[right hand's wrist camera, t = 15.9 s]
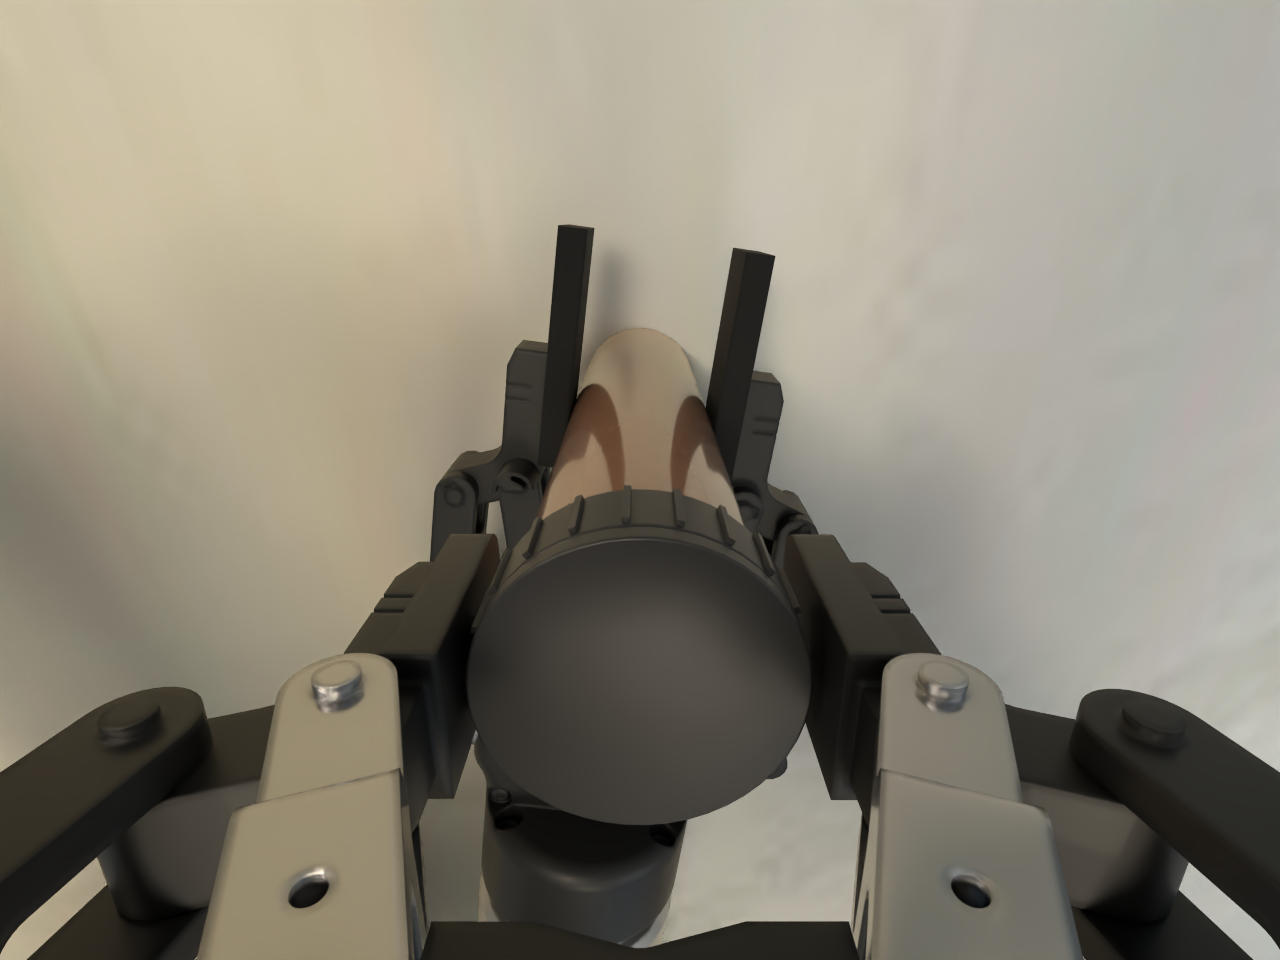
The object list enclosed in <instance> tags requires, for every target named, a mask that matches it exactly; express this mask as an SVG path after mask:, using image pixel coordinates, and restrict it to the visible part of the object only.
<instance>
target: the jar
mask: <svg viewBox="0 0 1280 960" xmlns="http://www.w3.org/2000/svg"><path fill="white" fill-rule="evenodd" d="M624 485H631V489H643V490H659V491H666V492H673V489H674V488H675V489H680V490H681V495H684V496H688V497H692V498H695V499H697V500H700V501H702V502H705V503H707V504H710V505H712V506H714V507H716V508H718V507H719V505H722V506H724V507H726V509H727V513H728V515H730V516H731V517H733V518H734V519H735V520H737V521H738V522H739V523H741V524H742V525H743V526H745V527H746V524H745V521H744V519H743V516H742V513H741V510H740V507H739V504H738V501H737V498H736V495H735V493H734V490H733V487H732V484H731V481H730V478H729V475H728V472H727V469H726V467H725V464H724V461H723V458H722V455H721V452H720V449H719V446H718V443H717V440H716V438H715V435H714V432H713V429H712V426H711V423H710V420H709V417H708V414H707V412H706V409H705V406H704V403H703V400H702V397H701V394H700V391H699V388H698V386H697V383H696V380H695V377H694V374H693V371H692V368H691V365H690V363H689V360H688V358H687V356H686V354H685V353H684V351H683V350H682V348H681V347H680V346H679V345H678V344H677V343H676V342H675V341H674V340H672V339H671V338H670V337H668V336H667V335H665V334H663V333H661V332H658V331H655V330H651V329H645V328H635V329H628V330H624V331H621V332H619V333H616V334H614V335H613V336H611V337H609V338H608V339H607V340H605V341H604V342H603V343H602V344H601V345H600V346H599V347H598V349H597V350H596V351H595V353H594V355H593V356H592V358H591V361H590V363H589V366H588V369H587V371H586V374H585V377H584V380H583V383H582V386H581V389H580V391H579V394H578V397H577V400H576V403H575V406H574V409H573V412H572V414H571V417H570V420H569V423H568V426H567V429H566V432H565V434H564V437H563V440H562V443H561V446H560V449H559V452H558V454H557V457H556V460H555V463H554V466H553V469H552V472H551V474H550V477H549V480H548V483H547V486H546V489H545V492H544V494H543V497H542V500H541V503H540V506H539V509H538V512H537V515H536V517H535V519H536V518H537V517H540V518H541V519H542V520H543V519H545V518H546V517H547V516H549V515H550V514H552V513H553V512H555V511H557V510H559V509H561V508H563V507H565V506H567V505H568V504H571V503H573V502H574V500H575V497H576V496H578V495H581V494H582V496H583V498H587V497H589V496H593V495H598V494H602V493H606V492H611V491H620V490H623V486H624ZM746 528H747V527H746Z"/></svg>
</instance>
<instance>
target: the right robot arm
mask: <svg viewBox="0 0 1280 960" xmlns="http://www.w3.org/2000/svg"><path fill="white" fill-rule="evenodd" d="M499 563H500V556H499V545H498V540H497V537H496V535H495V534H451V535H450V536H449V537H448V539H447V540H446V542H445V544H444V545H443V547H442V549H441V550H440V552H439V554H438V555H437V557H436V559H435V560H434V562H418V563H416V564H415V565H413V566H412V567H410V568H409V569H407V570H406V571H404V572H403V573H401V574H400V575H398V576H397V577H396V578H395V579H394V581H393V582H392V583H391V585H390V586H389V588H388V589H387V591H386V592H385V594H384V598H381V600H380V601H379V603H378V604H377V605H376V607H375V608H374V613H371V614H370V616H369V617H368V619H367V620H366V622H365V623H364V624H363V626H362V627H361V629H360V630H359V632H358V633H357V635H356V636H355V638H354V639H353V641H352V642H351V644H350V645H349V646H348V648H347V649H346V651H345V652H344V654H342V655H337V656H333V657H329V658H326V659H323V660H320V661H318V662H315V663H313V664H311V665H309V666H307V667H305V668H303V669H301V670H300V671H298V672H297V673H295V674H294V675H293V676H292V677H291V678H289V679H288V680H287V681H286V682H285V683H284V685H283V686H282V687H281V689H280V690H279V692H278V695H277V698H276V703H275V705H272V706H268V707H264V708H260V709H255V710H250V711H245V712H240V713H235V714H230V715H225V716H220V717H215V718H210V719H207V716H206V712H205V708H204V705H203V701H202V699H201V697H200V696H199V695H198V694H197V693H196V692H194V691H192V690H189V689H186V688H180V687H161V688H153V689H148V690H143V691H139V692H135V693H132V694H129V695H126V696H123V697H120V698H117V699H115V700H113V701H110V702H108V703H106V704H104V705H102V706H100V707H98V708H96V709H94V710H93V711H91V712H89V713H88V714H86V715H85V716H83V717H82V718H80V719H79V720H77V721H76V722H74V723H73V724H71V725H70V726H68V727H67V728H65V729H64V730H62V731H61V732H59V733H58V734H56V735H55V736H54V737H52V738H51V739H49V740H48V741H46V742H45V743H43V744H42V745H40V746H39V747H37V748H36V749H34V750H33V751H31V752H30V753H28V754H27V755H25V756H24V757H22V758H21V759H19V760H18V761H16V762H15V763H14V764H12V765H11V766H9V767H8V768H6V769H5V770H3V771H2V772H0V954H1V951H2V949H3V948H4V946H5V944H6V943H7V941H8V940H9V938H10V937H11V935H12V934H13V933H14V932H15V931H16V929H17V928H18V927H19V926H20V925H21V924H22V923H23V922H24V921H25V920H26V919H27V918H28V917H29V916H30V915H32V914H33V913H34V912H35V911H36V910H37V909H38V908H40V907H41V906H42V905H43V904H44V903H45V902H46V901H47V900H49V899H50V898H51V897H52V896H53V895H54V894H55V893H57V892H58V891H59V890H60V889H61V888H62V887H63V886H64V885H66V884H67V883H68V882H69V881H70V880H71V879H72V878H74V877H75V876H76V875H77V874H78V873H79V872H80V871H81V870H83V869H84V868H85V867H86V866H87V865H88V864H89V863H91V862H92V861H93V860H94V859H95V858H96V857H97V858H98V861H99V863H100V866H101V869H102V871H103V874H104V877H105V879H106V882H107V885H106V886H105V887H104V888H103V889H102V890H101V891H100V892H99V893H98V894H97V895H95V896H94V897H93V898H92V899H91V900H90V901H89V902H88V903H87V904H86V905H85V906H84V907H83V908H82V909H81V910H79V911H78V912H77V913H76V914H75V915H74V916H73V917H72V918H71V919H70V920H69V921H68V922H67V923H66V924H64V925H63V926H62V927H61V928H60V929H59V930H58V931H57V932H56V933H55V934H54V935H53V936H52V937H51V938H49V939H48V940H47V941H46V942H45V943H44V944H43V945H42V946H41V947H40V948H39V949H38V950H37V951H36V952H35V953H33V954H32V955H31V956H30V957H29V958H28V959H27V960H194V959H195V958H196V957H197V960H1083V957H1084V958H1085V959H1086V960H1253V959H1252V958H1251V957H1250V956H1249V955H1248V954H1247V953H1246V952H1244V951H1243V950H1242V949H1241V948H1240V947H1239V946H1238V945H1237V944H1236V943H1235V942H1234V941H1233V940H1232V939H1231V938H1229V937H1228V936H1227V935H1226V934H1225V933H1224V932H1223V931H1222V930H1221V929H1220V928H1219V927H1218V926H1217V925H1216V924H1214V923H1213V922H1212V921H1211V920H1210V919H1209V918H1208V917H1207V916H1206V915H1205V914H1204V913H1203V912H1202V911H1201V910H1199V909H1198V908H1197V907H1196V906H1195V905H1194V904H1193V903H1192V902H1191V901H1190V900H1189V899H1188V898H1187V897H1186V896H1185V895H1183V894H1182V893H1181V892H1180V891H1179V890H1178V889H1179V887H1180V884H1181V881H1182V879H1183V876H1184V874H1185V871H1186V868H1187V866H1188V863H1191V864H1192V865H1193V866H1194V867H1195V868H1196V869H1197V870H1199V871H1200V872H1201V873H1202V874H1203V875H1204V876H1205V877H1206V878H1208V879H1209V880H1210V881H1211V882H1212V883H1213V884H1214V885H1216V886H1217V887H1218V888H1219V889H1220V890H1221V891H1222V892H1223V893H1225V894H1226V895H1227V896H1228V897H1229V898H1230V899H1231V900H1233V901H1234V902H1235V903H1236V904H1237V905H1238V906H1239V907H1240V908H1242V909H1243V910H1244V911H1245V912H1246V913H1247V914H1248V915H1250V916H1251V917H1252V918H1253V919H1254V920H1255V921H1256V922H1257V923H1258V924H1260V925H1261V926H1262V927H1263V928H1264V929H1265V930H1266V932H1267V933H1268V934H1269V935H1270V936H1271V937H1272V939H1273V940H1274V941H1275V943H1276V944H1277V946H1278V947H1279V949H1280V772H1278V771H1277V770H1275V769H1274V768H1272V767H1271V766H1269V765H1268V764H1266V763H1265V762H1264V761H1262V760H1261V759H1259V758H1258V757H1256V756H1255V755H1253V754H1252V753H1250V752H1249V751H1247V750H1246V749H1244V748H1243V747H1241V746H1240V745H1238V744H1237V743H1235V742H1234V741H1232V740H1231V739H1229V738H1228V737H1227V736H1225V735H1224V734H1222V733H1221V732H1219V731H1218V730H1216V729H1215V728H1213V727H1212V726H1210V725H1209V724H1207V723H1206V722H1204V721H1203V720H1201V719H1200V718H1198V717H1197V716H1195V715H1193V714H1192V713H1190V712H1189V711H1187V710H1185V709H1183V708H1181V707H1179V706H1177V705H1175V704H1173V703H1170V702H1168V701H1166V700H1163V699H1160V698H1157V697H1154V696H1151V695H1148V694H1144V693H1140V692H1135V691H1130V690H1122V689H1102V690H1097V691H1093V692H1091V693H1089V694H1087V695H1085V696H1084V697H1083V698H1082V700H1081V702H1080V705H1079V709H1078V713H1077V716H1076V720H1075V719H1070V718H1065V717H1060V716H1055V715H1050V714H1045V713H1040V712H1035V711H1030V710H1025V709H1021V708H1017V707H1013V706H1010V705H1007V704H1005V703H1004V698H1003V695H1002V692H1001V690H1000V689H999V687H998V686H997V685H996V683H995V682H994V681H993V680H992V679H991V678H989V677H988V676H987V675H986V674H985V673H983V672H982V671H980V670H979V669H977V668H975V667H973V666H971V665H969V664H967V663H965V662H962V661H960V660H957V659H954V658H951V657H947V656H943V655H941V653H940V652H939V650H938V649H937V647H936V646H935V645H934V643H933V642H932V640H931V639H930V637H929V636H928V634H927V633H926V632H925V630H924V629H923V627H922V626H921V624H920V623H919V621H918V620H917V619H916V617H915V616H914V614H911V613H910V608H909V607H908V606H907V604H906V603H905V601H904V600H903V599H900V594H899V593H898V591H897V590H896V588H895V587H894V585H893V584H892V582H891V581H890V580H889V578H888V577H886V576H885V575H883V574H882V573H880V572H879V571H877V570H876V569H874V568H873V567H871V566H870V565H868V564H867V563H851V562H850V561H849V559H848V558H847V556H846V554H845V553H844V551H843V549H842V548H841V546H840V544H839V543H838V541H837V540H836V538H835V537H834V535H788V537H787V539H786V543H785V551H784V563H783V568H784V571H785V573H786V575H787V578H788V580H789V582H790V585H791V587H792V590H793V592H794V595H795V597H796V599H797V602H798V604H799V607H800V609H801V613H799V614H797V615H798V618H799V620H800V623H801V625H802V628H803V630H804V633H805V635H806V638H807V640H808V643H809V645H810V648H811V653H812V655H811V656H810V658H811V663H812V676H813V688H812V696H811V704H810V708H809V711H808V715H807V718H806V725H807V728H808V731H809V734H810V738H811V741H812V744H813V747H814V750H815V753H816V756H817V759H818V762H819V765H820V768H821V771H822V774H823V777H824V780H825V783H826V786H827V789H828V792H829V795H830V798H831V800H858V803H859V805H860V808H861V811H862V817H861V824H860V830H859V837H858V848H857V860H856V872H855V884H854V896H853V908H852V920H851V928H850V924H849V922H743V923H739V924H735V925H731V926H728V927H724V928H720V929H716V930H712V931H709V932H705V933H701V934H697V935H694V936H690V937H686V938H682V939H679V940H675V941H671V942H667V943H663V944H660V945H656V946H652V947H647V948H633V947H628V946H624V945H620V944H617V943H613V942H609V941H605V940H601V939H598V938H594V937H590V936H586V935H583V934H579V933H575V932H571V931H568V930H564V929H560V928H556V927H552V926H549V925H545V924H541V923H537V922H431V924H430V928H429V920H428V908H427V896H426V884H425V872H424V860H423V848H422V837H421V830H420V824H419V820H420V818H421V815H422V813H423V810H424V807H425V804H426V802H427V799H454V796H455V793H456V790H457V787H458V784H459V781H460V778H461V775H462V771H463V768H464V765H465V762H466V759H467V756H468V753H469V750H470V747H471V743H472V740H473V737H474V734H475V731H476V728H475V726H474V723H473V721H472V718H471V714H470V710H469V706H468V702H467V695H466V684H465V678H466V663H467V658H468V654H469V649H470V645H471V642H472V639H473V637H474V634H472V633H470V630H471V626H472V624H473V621H474V619H475V617H476V614H477V612H478V609H479V607H480V605H481V602H482V600H483V597H484V595H485V592H486V590H487V588H488V586H490V585H491V582H492V580H493V577H494V575H495V573H496V570H497V568H498V565H499ZM197 955H198V956H197ZM1082 955H1083V956H1082Z"/></svg>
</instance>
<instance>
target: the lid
mask: <svg viewBox="0 0 1280 960" xmlns="http://www.w3.org/2000/svg"><path fill="white" fill-rule="evenodd" d="M799 613H801V609H800V607H799V604H798V602H797V599H796V597H795V595H794V592H793V590H792V587H791V585H790V582H789V580H788V578H787V575H786V573H785V571H784V568H780V569H777V567H776V565H775V563H774V561H773V560H772V558H771V556H770V554H769V553H768V551H767V548H766V546H765V543H764V540H763V538H762V536H761V535H760V534H759V533H758V532H757V533H756V534H754V535H753V534H752V533H751V532H750V531H749V530H748V529H747V528H746V527H745V526H743V525H742V524H741V523H739V522H738V521H737V520H735V519H734V518H733V517H731V516H730V515H728V513H727V509H726V507H724V506H722V505H719V507H718V508H716V507H714V506H712V505H710V504H707V503H705V502H702V501H700V500H697V499H695V498H692V497H688V496H684V495H681V490H680V489H675V488H674V489H673V492H666V491H659V490H643V489H631V485H624V486H623V490H620V491H611V492H606V493H602V494H598V495H593V496H589V497H587V498H583V496H582V494H581V495H578V496H576V497H575V500H574V502H573V503H571V504H568V505H567V506H565V507H563V508H561V509H559V510H557V511H555V512H553V513H552V514H550V515H549V516H547V517H546V518H545V519H543V520H542V519H541V518H540V517H537V518H536V519H535V520H534V521H533V524H532V527H531V530H530V531H529V532H527V533H526V534H525V535H524V536H523V537H522V538H521V539H520V541H519V542H518V543H517V544H516V546H515V547H514V548H513V549H512V551H511V550H510V549H508V548H507V549H506V550H505V551H504V553H503V555H502V558H501V560H500V563H499V565H498V568H497V570H496V573H495V575H494V577H493V580H492V582H491V585H490V586H488V588H487V590H486V592H485V595H484V597H483V600H482V602H481V605H480V607H479V609H478V612H477V614H476V617H475V619H474V621H473V624H472V626H471V630H470V633H472V634H474V637H473V639H472V642H471V645H470V649H469V654H468V658H467V663H466V678H465V684H466V695H467V702H468V706H469V710H470V714H471V718H472V721H473V723H474V726H475V728H476V731H477V733H478V735H479V738H480V739H481V741H482V743H483V744H484V746H485V748H486V749H487V751H488V753H489V754H490V755H491V757H492V758H493V759H494V760H495V761H496V763H497V764H498V765H499V766H500V768H501V769H502V770H503V771H504V772H505V773H506V774H507V775H508V776H509V777H511V778H512V779H513V780H514V781H515V782H516V783H517V784H519V785H520V786H521V787H523V788H524V789H525V790H527V791H528V792H529V793H531V794H532V795H534V796H536V797H537V798H539V799H541V800H542V801H544V802H546V803H548V804H550V805H552V806H554V807H556V808H559V809H561V810H563V811H565V812H568V813H571V814H574V815H577V816H581V817H584V818H587V819H592V820H597V821H601V822H606V823H615V824H624V825H653V824H664V823H672V822H677V821H682V820H687V819H691V818H694V817H698V816H701V815H704V814H708V813H710V812H712V811H715V810H717V809H720V808H722V807H724V806H727V805H729V804H730V803H732V802H734V801H736V800H738V799H739V798H741V797H743V796H745V795H746V794H747V793H749V792H750V791H752V790H753V789H754V788H756V787H757V786H759V785H760V784H761V783H762V782H763V781H764V780H766V779H767V778H768V777H769V776H770V775H771V774H772V773H773V772H774V771H775V770H776V769H777V768H778V767H779V765H780V764H781V763H782V762H783V761H784V759H785V758H786V757H787V756H788V754H789V753H790V751H791V749H792V748H793V746H794V745H795V743H796V742H797V740H798V738H799V736H800V733H801V731H802V729H803V727H804V724H805V722H806V718H807V715H808V711H809V708H810V704H811V696H812V688H813V676H812V663H811V658H810V656H811V655H812V653H811V648H810V645H809V643H808V640H807V638H806V635H805V633H804V630H803V628H802V625H801V623H800V620H799V618H798V615H797V614H799Z"/></svg>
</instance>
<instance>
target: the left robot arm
mask: <svg viewBox="0 0 1280 960" xmlns="http://www.w3.org/2000/svg"><path fill="white" fill-rule="evenodd" d="M593 236H594V228H590V227H583V226H576V225H558V234H557V246H556V257H555V269H554V281H553V292H552V304H551V316H550V327H549V339H548V343H543V342H535V341H528V340H523V341H522V342H521V343H520V344H519V345H518V346H517V347H516V349H515V351H514V353H513V355H512V357H511V359H510V361H509V363H508V365H507V378H506V393H505V408H504V423H503V438H502V446H500V447H499V448H497V449H494V450H490V451H485V452H481V453H480V452H477V451H467V452H464V453H462V454H461V455H460V456H459V457H458V458H457V459H456V461H455V462H454V463H453V465H452V466H451V467H450V468H449V470H448V471H447V472H446V474H445V475H444V476H443V478H442V479H441V480H440V482H439V483H438V484H437V486H436V489H435V492H434V507H433V523H432V539H431V554H430V562H434V560H435V559H436V557H437V555H438V554H439V552H440V550H441V549H442V547H443V545H444V544H445V542H446V540H447V539H448V537H449V536H450V535H451V534H486V527H487V516H488V506H489V502H494V501H499V500H500V506H501V512H502V519H503V525H504V531H505V537H506V544H507V548H508V549H510V550H511V551H512V549H513V548H514V547H515V546H516V544H517V543H518V542H519V541H520V539H521V538H522V537H523V536H524V535H525V534H526V533H527V532H529V531H530V530H531V527H532V524H533V521H534V520H535V517H536V515H537V512H538V509H539V506H540V503H541V500H542V497H543V494H544V492H545V489H546V486H547V483H548V480H549V477H550V474H551V473H550V467H553V466H554V463H555V460H556V457H557V454H558V452H559V449H560V446H561V443H562V440H563V437H564V434H565V432H566V429H567V426H568V423H569V420H570V417H571V414H572V412H573V409H574V406H575V403H576V400H577V391H578V381H579V371H580V362H581V352H582V342H583V333H584V323H585V313H586V304H587V294H588V284H589V275H590V265H591V255H592V246H593ZM774 260H775V256H773V255H770V254H766V253H762V252H759V251H752V250H745V249H738V248H733V252H732V258H731V264H730V269H729V275H728V281H727V287H726V293H725V298H724V304H723V310H722V316H721V322H720V327H719V333H718V339H717V345H716V350H715V356H714V362H713V368H712V374H711V379H710V385H709V391H708V397H707V403H706V408H705V409H706V412H707V414H708V417H709V420H710V423H711V426H712V429H713V432H714V435H715V438H716V440H717V443H718V446H719V449H720V452H721V455H722V458H723V461H724V464H725V467H726V469H727V472H728V475H729V478H730V481H731V484H732V487H733V490H734V493H735V495H736V498H737V501H738V504H739V507H740V510H741V513H742V516H743V519H744V521H745V524H746V527H747V529H748V530H749V531H750V532H751V533H752V534H753V535H754V534H755V532H756V533H757V532H758V533H759V534H760V535H761V536H762V538H763V540H764V543H765V546H766V548H767V551H768V553H769V554H770V556H771V558H772V560H773V561H774V563H775V565H776V567H777V569H780V568H783V563H784V551H785V543H786V539H787V537H788V535H818V531H817V529H816V527H815V525H814V524H813V522H812V520H811V518H810V516H809V514H808V513H807V511H806V509H805V507H804V506H803V504H802V503H801V501H800V499H799V497H798V496H797V495H796V494H794V493H793V492H790V491H787V490H785V491H781V490H779V489H777V488H775V487H773V486H771V485H770V484H768V483H767V478H768V473H769V468H770V463H771V459H772V454H773V449H774V444H775V440H776V433H777V430H778V426H779V420H780V416H781V412H782V407H783V402H784V401H783V396H782V390H781V385H780V383H779V382H778V380H777V379H776V378H775V377H774V376H773V374H772V373H765V372H758V371H753V368H754V363H755V358H756V353H757V348H758V343H759V337H760V332H761V327H762V322H763V317H764V312H765V306H766V301H767V296H768V291H769V286H770V281H771V276H772V270H773V265H774ZM471 744H474V745H475V746H474V752H475V757H476V760H477V763H478V764H479V766H480V768H481V769H482V771H483V773H484V775H485V777H486V782H487V791H486V805H485V819H484V833H483V847H482V872H481V876H480V887H479V906H478V922H537V923H541V924H545V925H549V926H552V927H556V928H560V929H564V930H568V931H571V932H575V933H579V934H583V935H586V936H590V937H594V938H598V939H601V940H605V941H609V942H613V943H617V944H620V945H624V946H628V947H633V948H647V947H652V946H656V945H660V944H661V943H662V938H663V934H664V930H665V925H666V921H667V916H668V912H669V908H670V898H671V892H672V889H673V885H674V881H675V877H676V872H677V867H678V862H679V857H680V852H681V848H682V843H683V838H684V833H685V828H686V824H687V820H682V821H677V822H672V823H664V824H653V825H624V824H615V823H606V822H601V821H597V820H592V819H587V818H584V817H581V816H577V815H574V814H571V813H568V812H565V811H563V810H561V809H559V808H556V807H554V806H552V805H550V804H548V803H546V802H544V801H542V800H541V799H539V798H537V797H536V796H534V795H532V794H531V793H529V792H528V791H527V790H525V789H524V788H523V787H521V786H520V785H519V784H517V783H516V782H515V781H514V780H513V779H512V778H511V777H509V776H508V775H507V774H506V773H505V772H504V771H503V770H502V769H501V768H500V766H499V765H498V764H497V763H496V761H495V760H494V759H493V758H492V757H491V755H490V754H489V753H488V751H487V749H486V748H485V746H484V744H483V743H482V741H481V739H480V738H479V735H478V733H477V731H475V734H474V737H473V740H472V743H471ZM786 769H787V759H786V758H785V759H784V761H783V762H782V763H781V764H780V765H779V767H778V768H777V769H776V770H775V771H774V772H773V773H772V774H771V775H770V776H769V777H768V778H767V779H774V778H777V777H780V776H781V775H782V774H783V773H784V772H785V771H786Z"/></svg>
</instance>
